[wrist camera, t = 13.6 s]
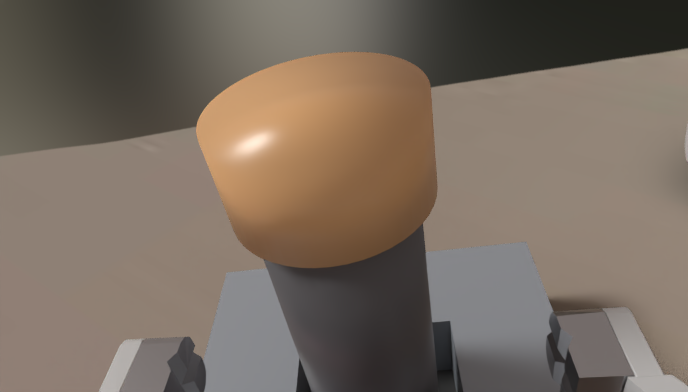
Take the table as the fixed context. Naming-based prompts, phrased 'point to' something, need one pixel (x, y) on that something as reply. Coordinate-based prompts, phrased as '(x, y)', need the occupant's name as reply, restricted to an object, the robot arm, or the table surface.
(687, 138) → the spread jar
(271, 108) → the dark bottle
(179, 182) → the table surface
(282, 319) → the socket
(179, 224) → the table surface
